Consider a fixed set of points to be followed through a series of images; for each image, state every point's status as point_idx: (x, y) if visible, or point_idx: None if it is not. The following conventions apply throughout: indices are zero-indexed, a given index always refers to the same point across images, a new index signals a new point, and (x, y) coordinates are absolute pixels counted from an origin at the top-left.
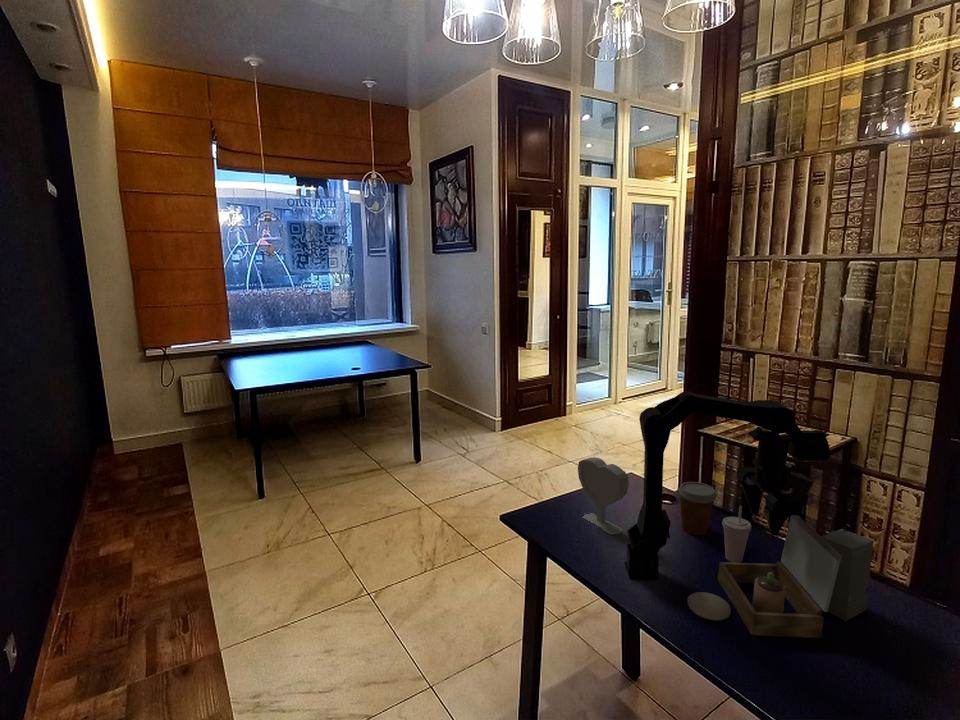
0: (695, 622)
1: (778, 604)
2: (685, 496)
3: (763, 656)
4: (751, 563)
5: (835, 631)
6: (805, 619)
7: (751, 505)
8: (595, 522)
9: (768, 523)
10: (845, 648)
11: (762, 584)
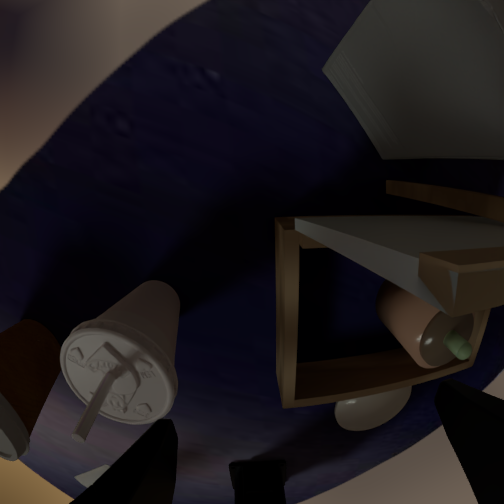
0: (403, 416)
1: None
2: (23, 453)
3: None
4: (288, 328)
5: (457, 170)
6: None
7: (167, 499)
8: None
9: (465, 463)
10: (489, 183)
11: (450, 358)
